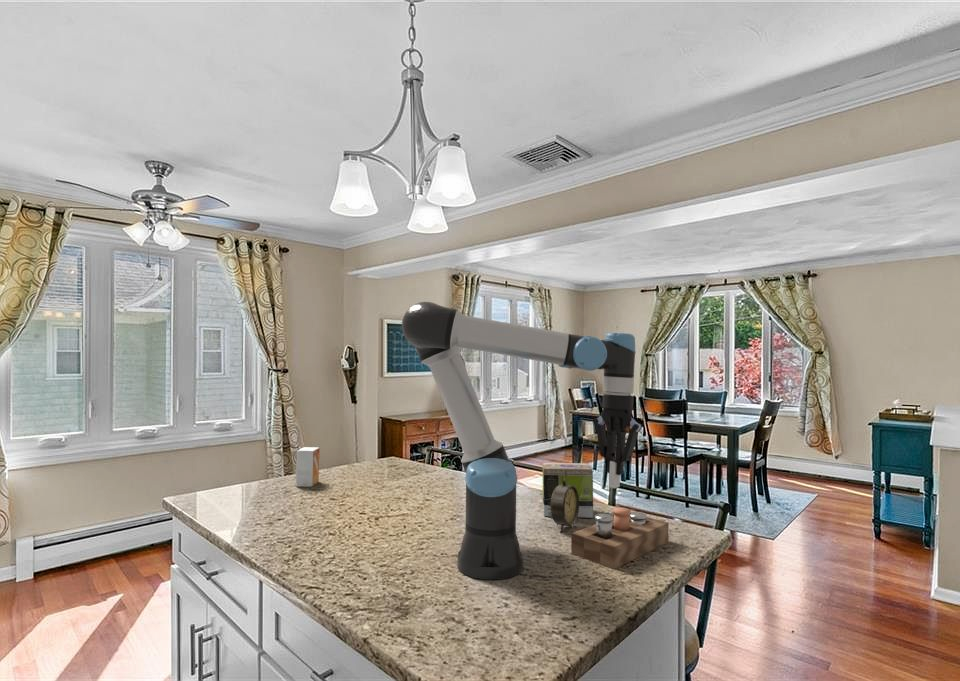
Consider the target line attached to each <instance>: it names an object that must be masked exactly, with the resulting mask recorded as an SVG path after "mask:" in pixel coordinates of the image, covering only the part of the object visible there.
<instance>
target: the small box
mask: <svg viewBox="0 0 960 681" xmlns="http://www.w3.org/2000/svg"><path fill="white" fill-rule="evenodd" d="M320 449H321V448H320V447H318V446H316V447H315V446H314V447H313V446H312V447H311V446H309V447H308V446H304V447H302V448H300V449H298V450H296V463H295V464H296V465H295V487H297V488H298V487H304V488H305V487H309V488H310V487H314V485H316V484H318V482H319V480H320V479H319V477H320V476H319V475H320Z"/></svg>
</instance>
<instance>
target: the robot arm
mask: <svg viewBox="0 0 960 681" xmlns="http://www.w3.org/2000/svg"><path fill="white" fill-rule="evenodd" d="M401 330H402V333H403V335H404V338H405V339H406V340H407V341H408V342H409V344H410V345H412V346H413V347H414V348H415V350H416V354H417V355H418V358H419V361H420V363H421V364H423V365H425V366H428V368H429V369H430V372H431V375H432V377H433V380H434V382H435V384H436V386H437V389H438V392H439V395H440V396H441V397H440V398H441V399H442V401H443V404H444V406H445V409H446V412H447V414H448V417H449V418H450V421H451V424H452V426H453V429H454V432H455V434H456V437H457V438H458V442H459V444H460V446H461V449H462V451H463V454H462V458H461V459H460V462H461V464H462V467H463V469H464V473H465V476H464V480H465V526H464V527H465V530H464V535H463V538H462V542H461V546H460V549H459V550H458V553H457V558H456V559H457V560H456V561H457V564H456V566H457V569H458V570H459V571H460V573H462V574H464V575H466V576H468V577H471V578H476V579H480V580H491V581H492V580H505V579H508V578H512V577H515V576H516V575H519V574H520V573H522V571H523V569H524V555H523V553H522V551H521V548H520V546H521V545H520V542H519V539H518V536H517V531H516V530H517V529H516V528H517V483H518V475H517V468H516V467H515V465H514V464H513V462H512V460H510V459H509V456H508V454H507V451H506V449H505V446H504V444H503V443H502V442H501V441H498V440H496V439H495V438H494V435H493V433H492V430H491V427H490V425H489V422H488V420H487V418H486V415H485V413H484V411H483V407H482V406H481V403H480V400H479V398H478V396H477V394H476V392H475V389H474V386H473V384H472V382H471V379H470V376H469V373H468V371H467V369H466V366H465V363H464V361H463V359H462V356H461V352H462V349H468V350H473V351H474V350H475V351H478V352H479V351H480V352H487V353H491V354H497V355H503V356H510V357H512V358H513V357H514V358H520V359H524V360H525V359H526V360H531V361H537V362H542V363H547V364H554V365H558V367H559V368H565V369H578V370H579V369H580V370H583V371H595V370H599V371H600V370H603V382H602V384H603V385H602V391H603V392H604V393H603V394H602V404H601V405H602V411H601V413H600V416H599V417H597V418H593V419H592V423H593V425H594V427H595V431H596V436H597V442H598V449H599V456H600V457H602V458H604V459H605V460H606V472H607V474H609V475H608V477H609V478H608V487H609V488H611V489H617V488H620V484H621V483H620V482H621V476H623V474H624V462H627V461H631V460H632V457H633V453H634V450H635V446H636V442H637V439H638V434H639V432H640V431H641V429H642V428H643V424H642V423H638V422H637V421H636V420H635V418H634V414H633V410H634V396H633V395H632V394H634V391H635V388H634V386H635V385H634V384H635V362H636V337H635V336H634V334H631V333H625V332H608V333H606V334H605V338H603V339H599V338H598V337H596V336H589V335H588V336H584V335H577V334H571V333H567V332H563V331H562V332H561V331H555V330H550V329H544V328H538V327H533V326H528V325H527V326H526V325H521V324H515V323H509V322H506V321H505V322H503V321H498V320H494V319H493V320H492V319H488V318H481V317H477V316H476V317H475V316H470V315H464V314H463V313H462V311H461V310H460V309H456V308H451V307H447V306H444V305H443V306H442V305H441V304H440V305H439V304H437V303H434V302H432V301H431V302H430V301H421V302H417V303H415V304H413V305H411V306H410V307H409V308H408V309H407V310H406V311H405V313H404V315H403V317H402V321H401ZM605 426H606V427H605ZM628 428H629V429H630V430H629V431H628V430H627V429H628ZM627 431H628V434H627ZM626 435H627V439H626Z"/></svg>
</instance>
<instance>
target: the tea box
mask: <svg viewBox="0 0 960 681" xmlns="http://www.w3.org/2000/svg"><path fill="white" fill-rule="evenodd" d="M564 470H565V471H566V474H567V476H566V474H565V471H564ZM563 471H564V473H563ZM562 473H563V480H565V476H566V480H565V481H566V482H565V483H566V485H569V486H574V487H575V488H576V490H577V492H578V497H579V512H578V516H577V518H588V519H589V518H590V519H591V518H592V519H594V471H593V468H592V466H591V465H590V463H587V462H583V463H581V462H580V463H578V462H542V508H543V509H542V510H543V517H552V515H551V508H550V505H551V497H552V494H553V491H554V489H555V488H556V487H557V486H558V485H563V482H562Z"/></svg>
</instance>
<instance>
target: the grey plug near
mask: <svg viewBox="0 0 960 681" xmlns="http://www.w3.org/2000/svg"><path fill="white" fill-rule="evenodd" d="M613 518H614V515H612V514H608V513H596V514H595V515H594V520H595V524H596V537H599V538H603V539H606V540H608V539H610V538H612V522H613Z"/></svg>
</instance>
